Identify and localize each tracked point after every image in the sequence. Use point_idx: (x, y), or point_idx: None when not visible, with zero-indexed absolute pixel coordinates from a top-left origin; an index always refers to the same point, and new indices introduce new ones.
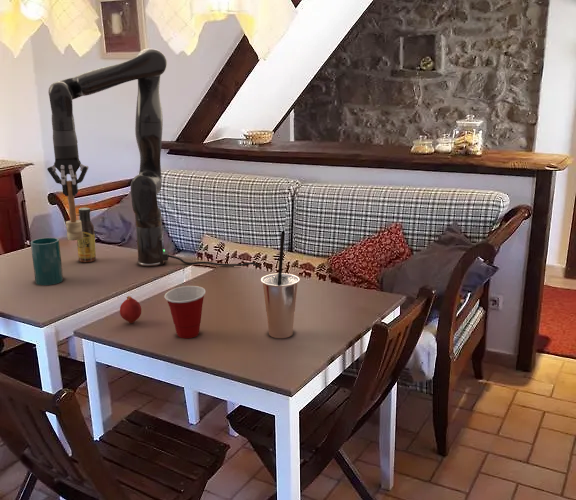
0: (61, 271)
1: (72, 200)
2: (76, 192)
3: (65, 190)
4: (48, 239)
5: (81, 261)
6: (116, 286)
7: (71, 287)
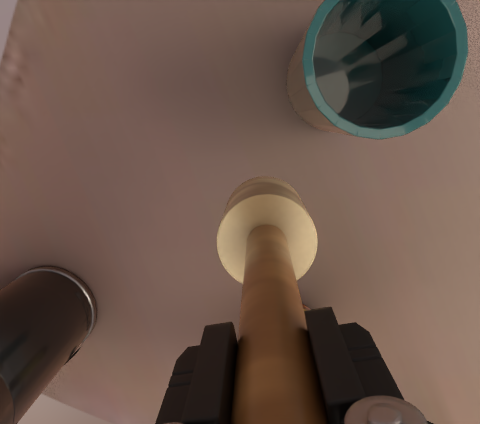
0: (288, 82)
1: (248, 296)
2: (184, 357)
3: (328, 342)
4: (386, 127)
5: (302, 304)
6: (61, 38)
7: (221, 12)
